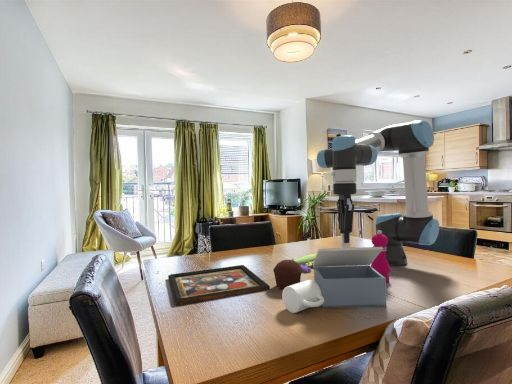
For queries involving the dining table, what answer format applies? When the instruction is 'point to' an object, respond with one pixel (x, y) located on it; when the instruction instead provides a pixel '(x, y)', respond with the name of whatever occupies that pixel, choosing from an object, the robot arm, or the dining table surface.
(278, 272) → the muffin
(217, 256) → the dining table surface
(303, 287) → the mug
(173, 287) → the framed painting
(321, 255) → the lid
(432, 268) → the dining table surface
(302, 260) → the figurine
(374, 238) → the pepper mill
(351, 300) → the box
